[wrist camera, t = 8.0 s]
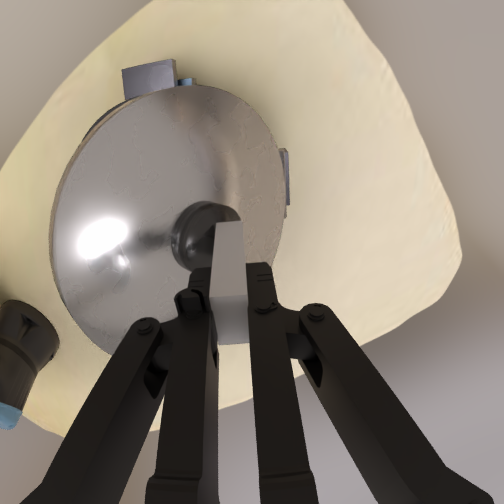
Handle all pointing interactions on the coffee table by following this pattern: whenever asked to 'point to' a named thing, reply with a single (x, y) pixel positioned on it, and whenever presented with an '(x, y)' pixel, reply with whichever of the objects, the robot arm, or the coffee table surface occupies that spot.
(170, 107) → the lid
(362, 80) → the coffee table surface
